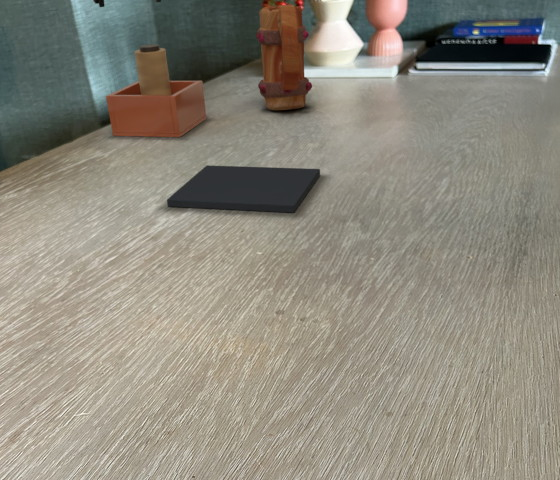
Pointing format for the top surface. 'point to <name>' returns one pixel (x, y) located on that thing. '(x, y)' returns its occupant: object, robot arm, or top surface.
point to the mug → (283, 57)
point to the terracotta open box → (157, 110)
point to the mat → (246, 188)
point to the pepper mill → (152, 70)
